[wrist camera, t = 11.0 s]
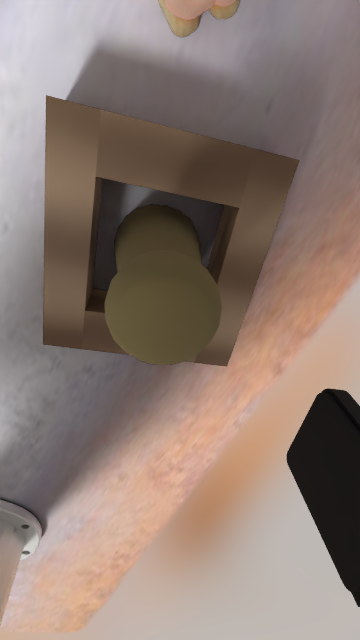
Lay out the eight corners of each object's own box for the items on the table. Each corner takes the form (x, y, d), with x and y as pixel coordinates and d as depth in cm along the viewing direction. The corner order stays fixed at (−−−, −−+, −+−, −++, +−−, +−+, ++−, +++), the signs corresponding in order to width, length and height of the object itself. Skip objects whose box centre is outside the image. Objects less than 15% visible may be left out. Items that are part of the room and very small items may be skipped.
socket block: (217, 340, 27) (227, 366, 23) (56, 318, 24) (43, 344, 21) (276, 157, 20) (299, 160, 17) (63, 103, 18) (46, 95, 15)
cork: (197, 198, 21) (240, 246, 11) (202, 283, 24) (239, 376, 14) (105, 209, 21) (70, 266, 11) (122, 293, 24) (106, 395, 14)
